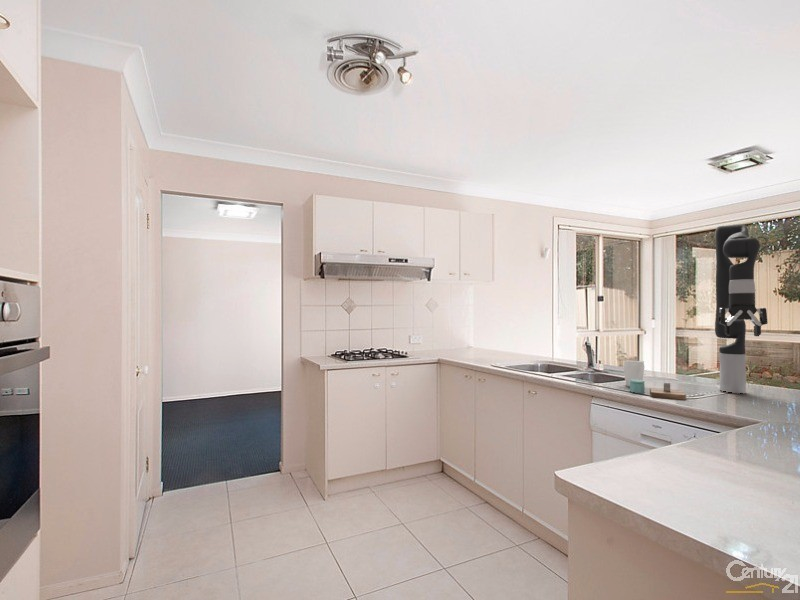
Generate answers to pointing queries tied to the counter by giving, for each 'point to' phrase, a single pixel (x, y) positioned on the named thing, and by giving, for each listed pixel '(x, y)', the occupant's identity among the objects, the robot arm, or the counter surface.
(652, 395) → the stud block
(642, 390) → the cap
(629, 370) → the cup
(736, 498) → the counter surface
